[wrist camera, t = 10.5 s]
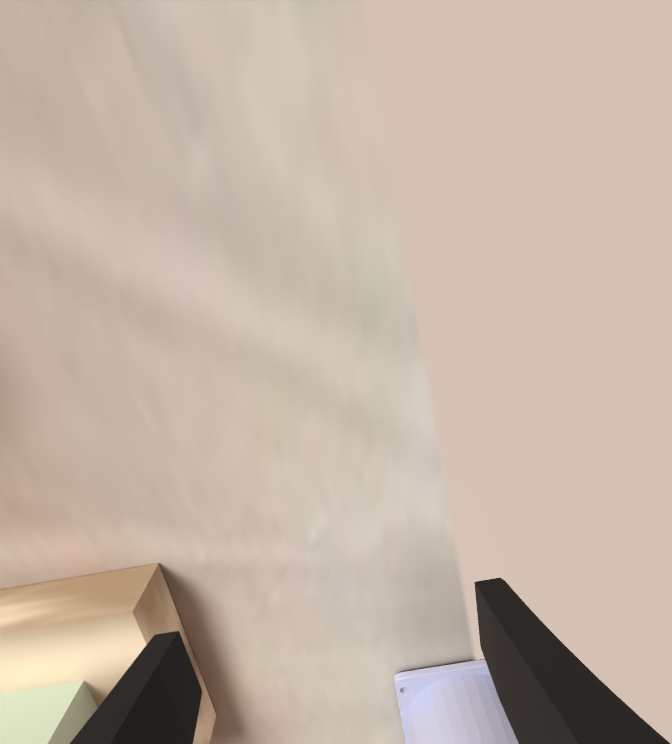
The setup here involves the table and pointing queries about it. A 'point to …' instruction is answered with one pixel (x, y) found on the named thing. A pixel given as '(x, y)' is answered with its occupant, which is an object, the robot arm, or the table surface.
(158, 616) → the birch plinth
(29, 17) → the table surface
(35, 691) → the sage block
